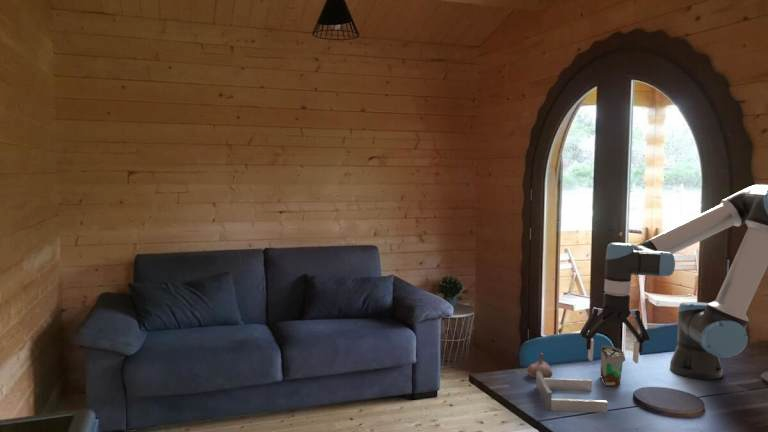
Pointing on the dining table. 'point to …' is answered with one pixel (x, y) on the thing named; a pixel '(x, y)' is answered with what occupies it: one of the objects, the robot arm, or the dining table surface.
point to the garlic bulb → (540, 368)
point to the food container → (611, 365)
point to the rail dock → (567, 404)
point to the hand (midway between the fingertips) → (612, 360)
